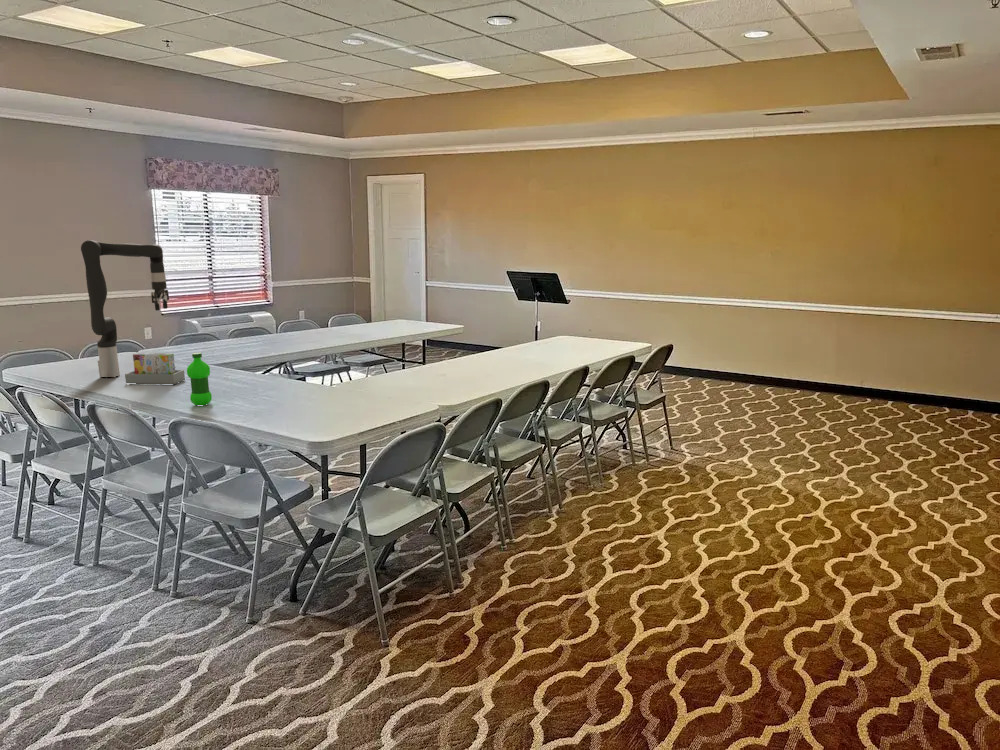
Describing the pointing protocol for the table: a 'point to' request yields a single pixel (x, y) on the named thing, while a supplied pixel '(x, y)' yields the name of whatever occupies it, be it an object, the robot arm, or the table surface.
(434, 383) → the table surface
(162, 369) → the snack box
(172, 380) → the bin
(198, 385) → the plastic bottle
